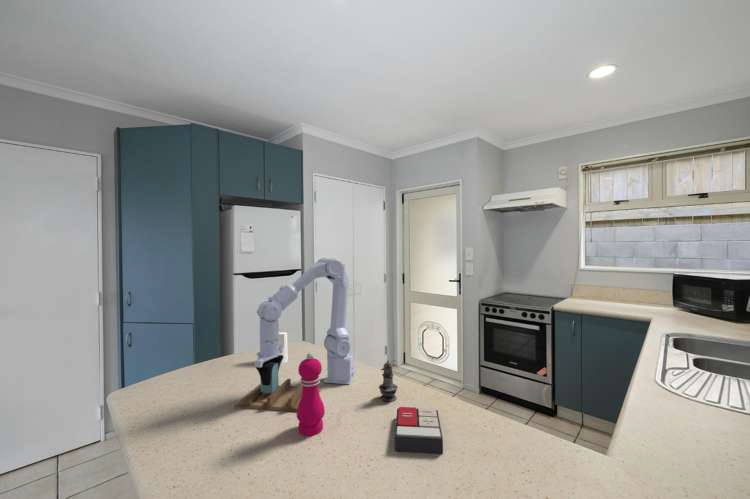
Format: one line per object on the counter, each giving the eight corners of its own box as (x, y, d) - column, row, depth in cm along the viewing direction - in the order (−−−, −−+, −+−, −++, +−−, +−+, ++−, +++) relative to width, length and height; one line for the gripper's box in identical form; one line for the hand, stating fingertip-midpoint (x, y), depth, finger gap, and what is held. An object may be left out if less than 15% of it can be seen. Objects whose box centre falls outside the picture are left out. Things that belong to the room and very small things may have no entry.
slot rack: (320, 391, 106) (320, 380, 106) (304, 412, 92) (304, 400, 92) (259, 387, 110) (259, 377, 110) (234, 407, 96) (234, 395, 96)
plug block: (278, 387, 103) (278, 362, 103) (272, 393, 99) (272, 367, 99) (267, 386, 104) (266, 362, 104) (260, 392, 100) (260, 366, 100)
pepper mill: (329, 424, 86) (328, 350, 86) (316, 439, 79) (315, 358, 79) (306, 419, 88) (305, 347, 88) (291, 434, 81) (290, 355, 81)
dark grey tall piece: (397, 394, 103) (397, 357, 103) (397, 403, 97) (396, 363, 97) (379, 393, 104) (379, 356, 104) (378, 402, 98) (377, 363, 98)
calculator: (437, 406, 88) (443, 435, 73) (437, 422, 88) (443, 455, 73) (397, 404, 89) (394, 433, 74) (397, 420, 89) (394, 452, 74)
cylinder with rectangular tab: (261, 364, 132) (261, 335, 132) (271, 357, 141) (271, 330, 141) (281, 365, 130) (281, 336, 130) (291, 358, 139) (290, 330, 139)
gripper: (268, 333, 109) (269, 372, 109) (245, 345, 95) (245, 391, 95) (288, 333, 108) (288, 373, 108) (267, 346, 94) (267, 392, 94)
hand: (269, 382), depth 102 cm, fingers closed on plug block, 4 cm apart
